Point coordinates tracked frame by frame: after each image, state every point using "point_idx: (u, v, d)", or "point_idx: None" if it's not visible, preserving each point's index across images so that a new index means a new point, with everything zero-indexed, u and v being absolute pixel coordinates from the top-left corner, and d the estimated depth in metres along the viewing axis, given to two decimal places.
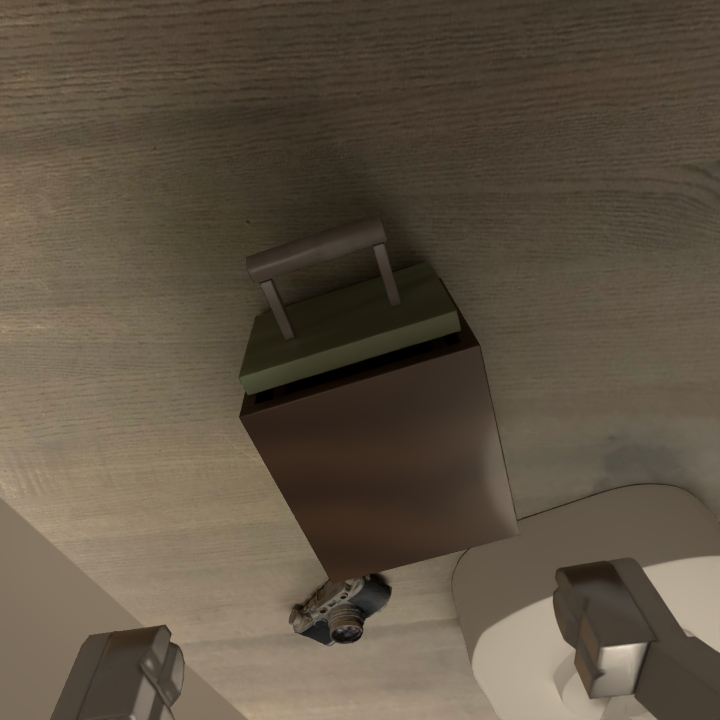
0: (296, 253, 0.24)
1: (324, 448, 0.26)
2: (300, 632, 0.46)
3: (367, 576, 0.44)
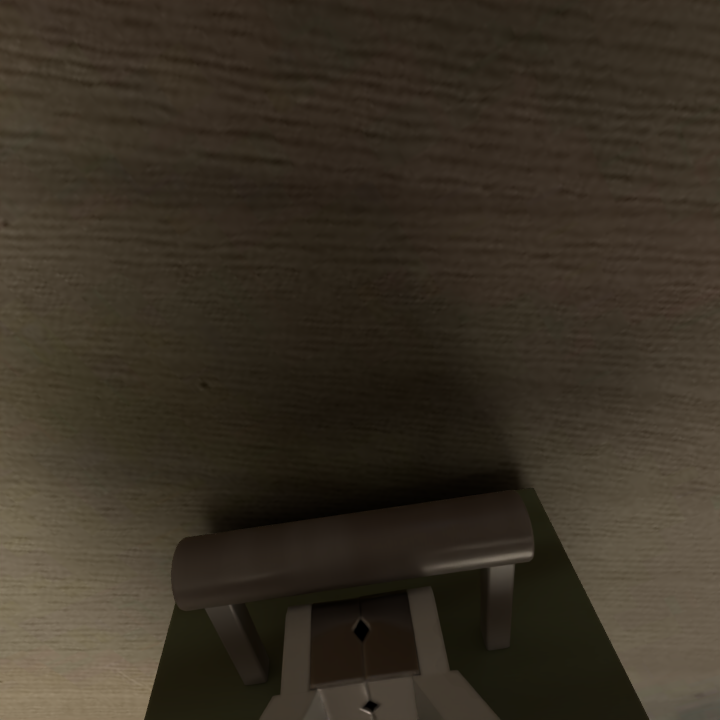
0: (305, 574, 0.09)
1: None
2: None
3: None
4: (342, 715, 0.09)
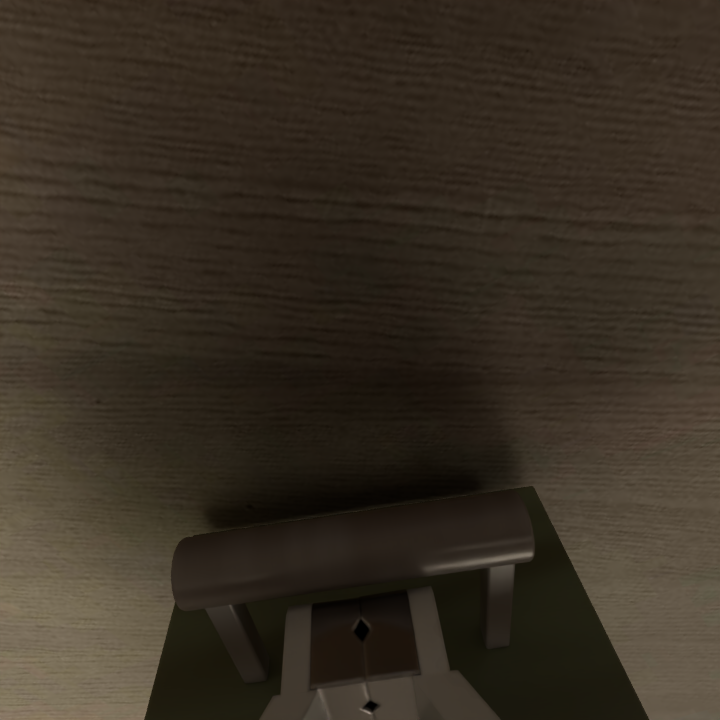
0: (305, 575, 0.09)
1: None
2: None
3: None
4: (342, 715, 0.09)
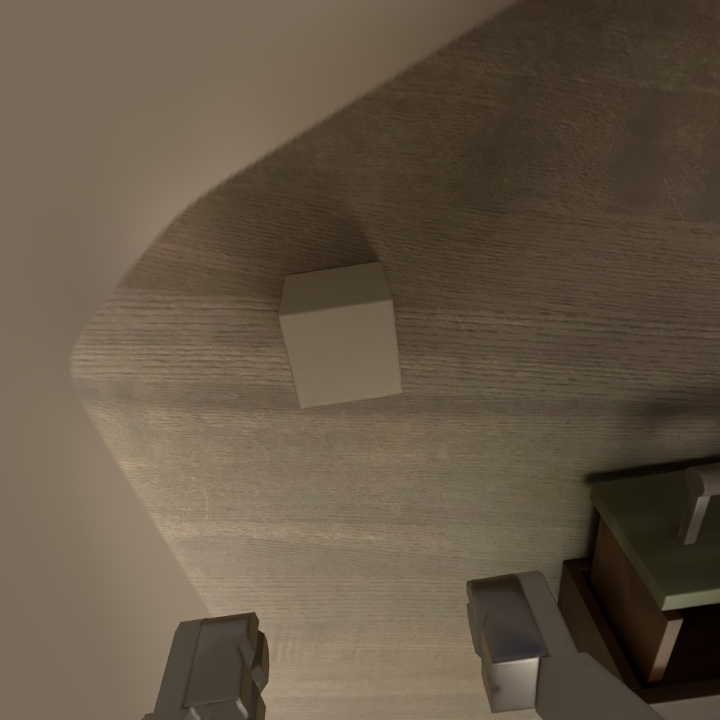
0: None
1: None
2: None
3: None
4: None
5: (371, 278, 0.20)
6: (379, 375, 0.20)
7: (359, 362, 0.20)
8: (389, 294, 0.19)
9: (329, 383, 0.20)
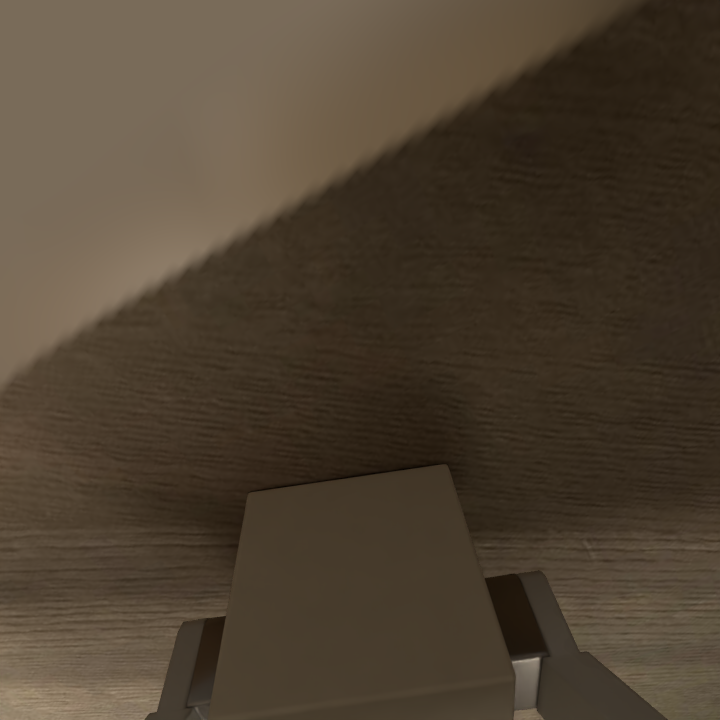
0: None
1: None
2: None
3: None
4: None
5: (440, 543, 0.09)
6: None
7: None
8: (502, 646, 0.07)
9: None
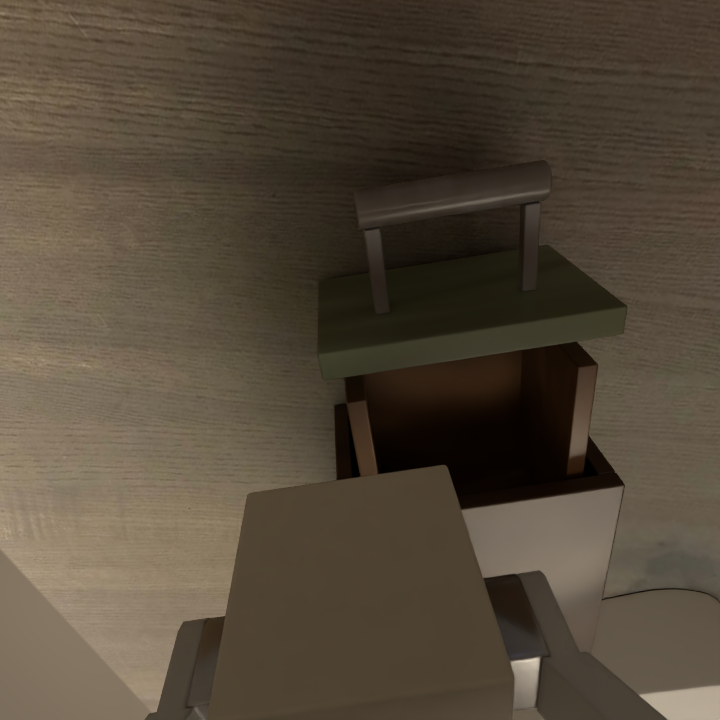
0: (427, 195, 0.17)
1: None
2: None
3: None
4: None
5: (439, 543, 0.09)
6: None
7: None
8: (501, 647, 0.07)
9: None
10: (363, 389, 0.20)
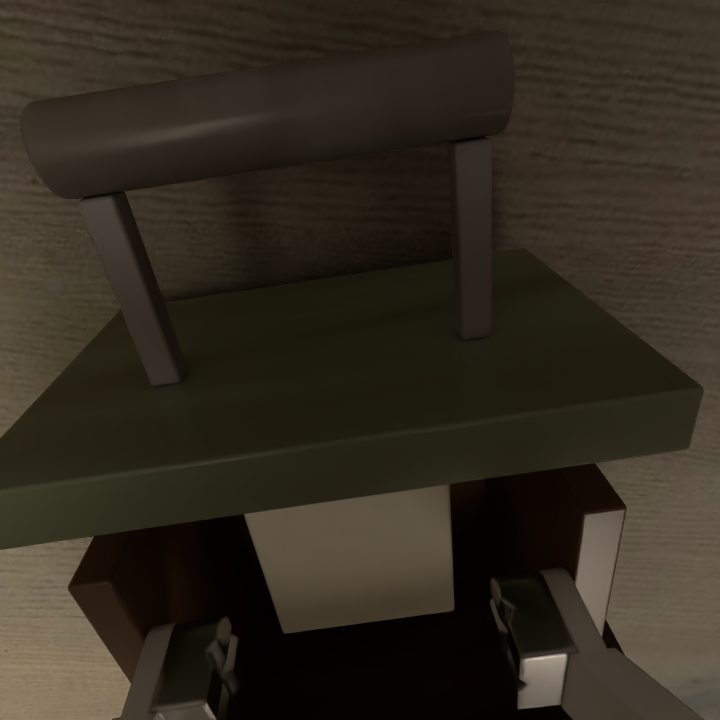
0: (202, 109, 0.07)
1: None
2: None
3: None
4: None
5: None
6: (417, 589, 0.12)
7: (384, 573, 0.11)
8: None
9: (333, 601, 0.12)
10: (122, 546, 0.09)
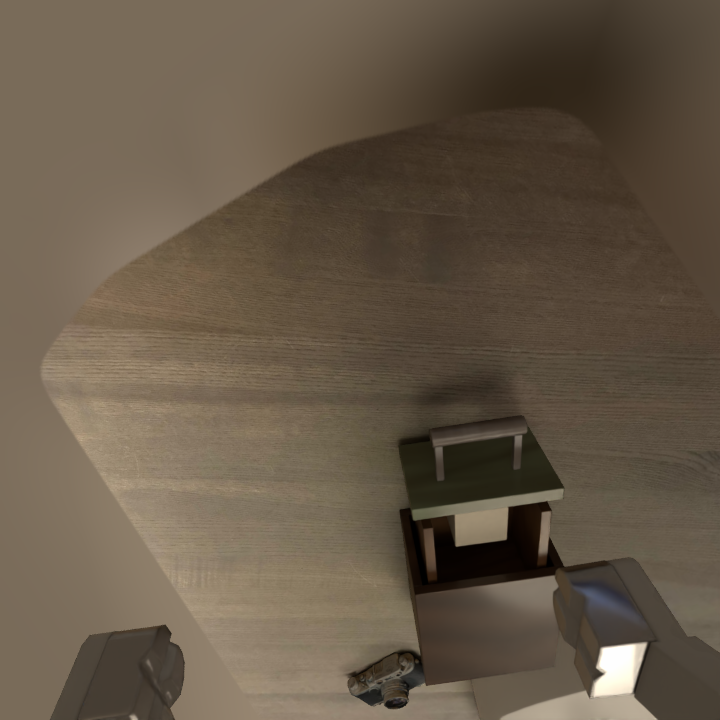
0: (467, 435, 0.35)
1: (457, 614, 0.41)
2: (356, 695, 0.60)
3: (416, 660, 0.59)
4: None
5: None
6: (496, 533, 0.40)
7: (488, 527, 0.40)
8: None
9: (472, 536, 0.40)
10: (430, 520, 0.38)
